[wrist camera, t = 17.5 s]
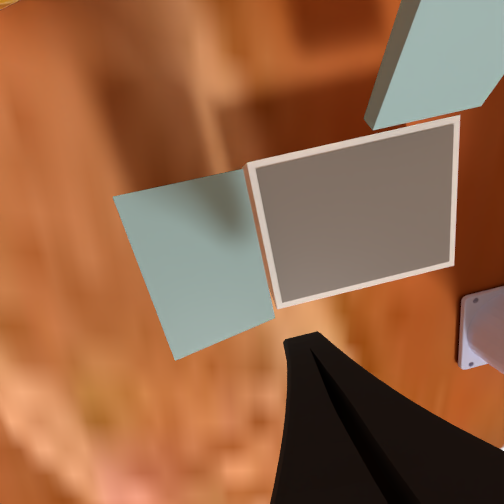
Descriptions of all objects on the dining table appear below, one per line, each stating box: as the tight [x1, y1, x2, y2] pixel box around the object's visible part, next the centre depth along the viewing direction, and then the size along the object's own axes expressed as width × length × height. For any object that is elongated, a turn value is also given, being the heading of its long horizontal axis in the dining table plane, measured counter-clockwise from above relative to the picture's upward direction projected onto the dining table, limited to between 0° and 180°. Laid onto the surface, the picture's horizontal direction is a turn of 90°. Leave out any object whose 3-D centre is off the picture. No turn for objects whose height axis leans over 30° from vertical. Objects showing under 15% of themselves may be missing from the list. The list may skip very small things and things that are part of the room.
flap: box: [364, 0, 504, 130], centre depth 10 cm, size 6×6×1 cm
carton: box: [242, 115, 460, 309], centre depth 16 cm, size 12×9×4 cm
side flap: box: [113, 169, 275, 361], centre depth 12 cm, size 6×8×1 cm
